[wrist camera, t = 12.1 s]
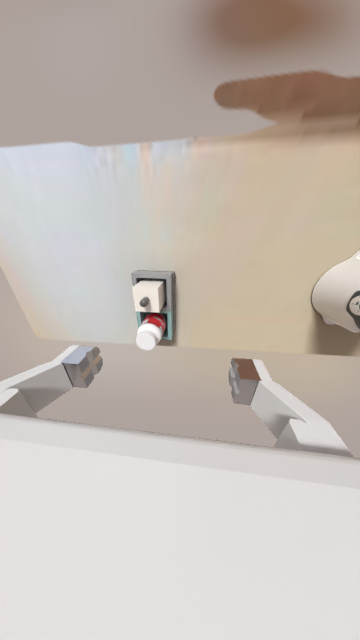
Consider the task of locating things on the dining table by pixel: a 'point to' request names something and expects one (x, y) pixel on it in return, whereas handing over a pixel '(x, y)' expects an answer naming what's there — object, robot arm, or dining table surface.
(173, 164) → the dining table surface
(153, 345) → the pill bottle
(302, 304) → the dining table surface
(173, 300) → the teal tray with block
